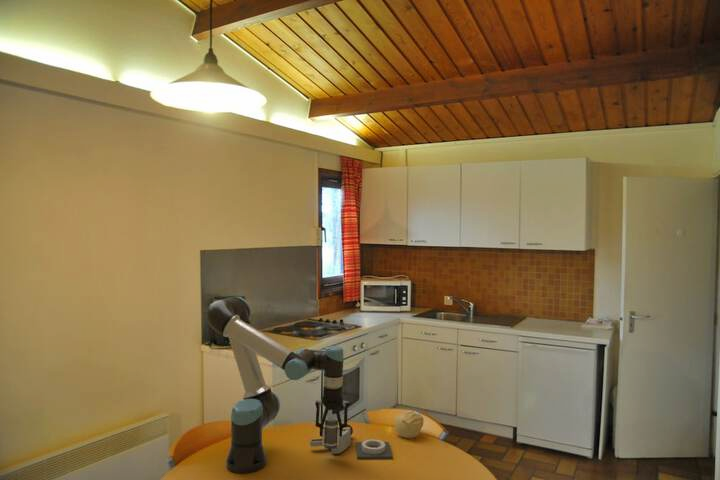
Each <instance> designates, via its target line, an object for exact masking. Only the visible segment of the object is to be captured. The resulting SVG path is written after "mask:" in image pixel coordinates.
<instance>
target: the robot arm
mask: <svg viewBox="0 0 720 480" xmlns="http://www.w3.org/2000/svg"><path fill="white" fill-rule="evenodd" d="M251 309H252V308H251V306H250V303H249V302H248V301H247V300H246V298H243V297H241V296H230V297H226V298H223V299H218V300H215V301H213V302H212V303H210V305H209V306H208V307H207V309H206V313H205V318H206V321H207V324H208V325H209V326H210V328H212V330H214V331H216V333H218V334H219V335H221V336H223V337H224V338H227V337H228V340H229V342H230V347H231V349H232V352H233V356H234V359H235V362H236V366H237V369H238V373H239V376H240V380H241V383H242V385H243V389H244V394H243V396H242V399H243V400H239V401H238V402H236V403H234V405H233V406H232V408H231V415H230V422H231V423H230V424H231V425H230V426H231V427H230V429H231V431H230V433H231V434H230V435H231V436H230V437H231V439H230V440H231V443H230V448H229V451H228V454H227V457H226V460H225V461H226V462H225V465H226V469H227V470H228V471H230V472H233V473H237V474H249V473H253V472H256V471H258V470H259V471H260V470H261V469H263V468H264V467H265V466H266V465H267V454H266V452H265V447H264V445H263V429H264V428H265V427H266V426H267V425H268V424H269V423H271V422H272V421H274V419H276V417H277V416H278V414H279V412H280V409H281V402H280V401H281V400H280V399H279V397H278V395H277V394H276V393H275V392H273V391H272V387H271V386H270V385H268V384H266V381H265V379H264V374H263V371H262V368H261V366H260V365H261V364H260V362H259V359H258V356H257V355H259V356H261V357H262V358H264V359H265V360H267V361H268V362H270V363H271V364H274V365H275V366H277V367H278V368H280V369H281V370H283V371H284V373H285V376H286V377H287V379H289V380H291V381H298V380H300V379H303V378H305V376H306V375H307V374H308V373H310V372H311V371H313V370H314V371H323V390H322V391H323V392H322V393H323V394H322V398H321V399H320V400H318V399H317V400H315V402H314V403H315V408H316V411H315V412H316V413H315V427H316V428H319V437H322V438H321V439H322V446H321V447H323V446H324V437H325V420H327V415H328V413H329V411H335V413H336V414H335V415H336V420H337V421H338V427H337V446H339V437H342V429H343V428H346V427H347V424H348V408H349V405H350V401H349V400H344V398H343V379H344V373H343V371H344V359H345V358H344V349H343V347H340V346H337V345H333V346H331V345H330V346H329V345H328V346H326V347H325V349H324V350H318V349H317V350H314V349H308V348H304V349H303V348H298V349H297V350H296V352H294V351H293V350H291V349H289V348H288V347H286V346H284V345H282V344H281V343H279V342H277V341H276V340H274V339H273V338H271V337H269V336H268V335H266V334H265V333H263V332H261V331H259V330H258V329H257V328H255V327H253V326H252V325H251V321H250V317H251V314H252V313H251V312H252V310H251ZM322 405H323V406H324V407H325V408H324V411H323V415H322V418H321V420H320V410H321V409H320V408H321V406H322ZM341 405H342V406H343V422H342V418H341V413H340V410H339V408H340V407H341ZM319 421H320V422H319Z"/></svg>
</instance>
